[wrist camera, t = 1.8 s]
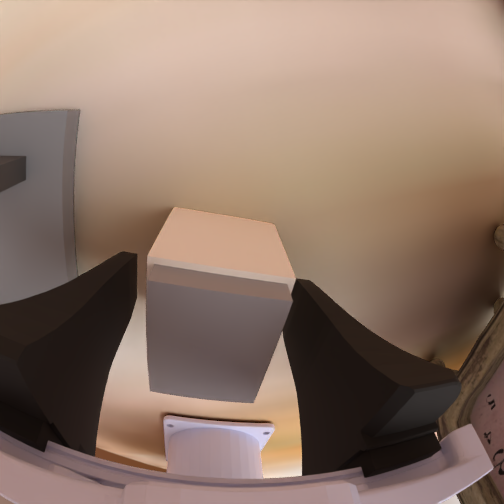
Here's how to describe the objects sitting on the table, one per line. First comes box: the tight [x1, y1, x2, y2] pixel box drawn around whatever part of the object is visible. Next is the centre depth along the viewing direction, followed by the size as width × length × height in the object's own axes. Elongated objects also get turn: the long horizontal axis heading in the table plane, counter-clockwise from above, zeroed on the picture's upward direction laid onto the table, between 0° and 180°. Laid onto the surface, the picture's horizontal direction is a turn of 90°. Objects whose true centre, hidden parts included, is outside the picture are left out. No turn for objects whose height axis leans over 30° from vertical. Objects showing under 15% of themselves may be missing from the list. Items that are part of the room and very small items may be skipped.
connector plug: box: [146, 207, 296, 403], centre depth 10 cm, size 5×4×5 cm
